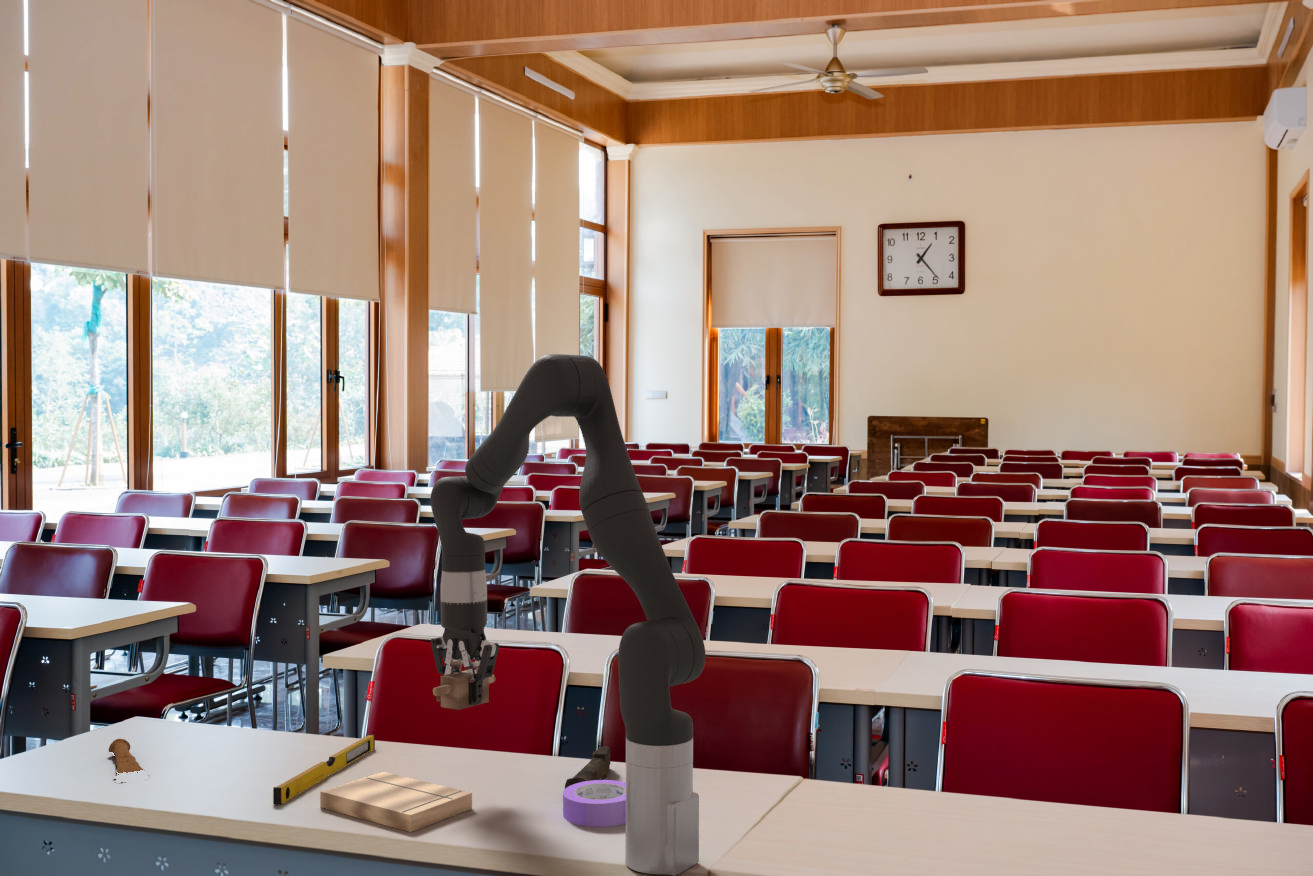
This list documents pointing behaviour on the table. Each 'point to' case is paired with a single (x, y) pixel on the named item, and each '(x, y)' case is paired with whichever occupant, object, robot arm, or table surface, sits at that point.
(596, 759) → the hand tool
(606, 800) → the masking tape
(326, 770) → the spirit level
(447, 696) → the tan peg block
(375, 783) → the oak board
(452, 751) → the table surface
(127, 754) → the primitive tool
